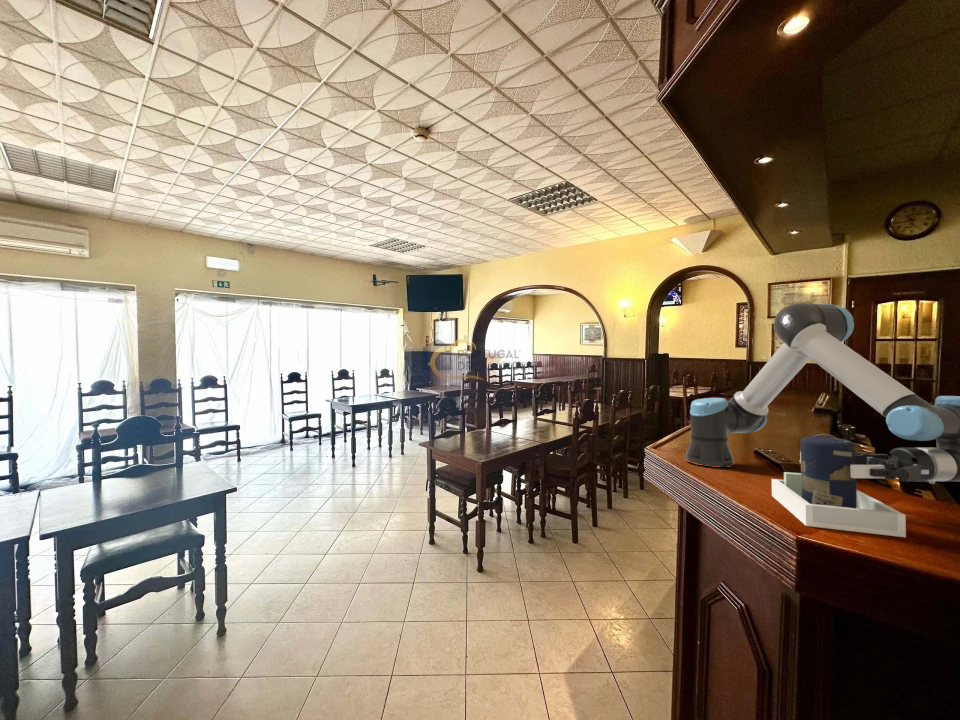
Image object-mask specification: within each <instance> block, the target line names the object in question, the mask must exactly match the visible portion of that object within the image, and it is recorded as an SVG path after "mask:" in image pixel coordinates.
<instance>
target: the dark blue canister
mask: <svg viewBox="0 0 960 720" xmlns="http://www.w3.org/2000/svg"><path fill="white" fill-rule="evenodd" d="M800 452H801V463H800V473H801V483H802V498H803V499H804V500H806V501H807V502H808V503H810V504H817V505H827V506H837V507H847V508H856V498H857V490H858V489H857V485H858V484H857V478H851V472H850V465H856V461H855V452H856V445H855V443H854V442H853V441H851V440H847V439H843V438H838V437H835V436H833V435H830V434H826V433H822V434H821V433H820V434H815V435H813V436H812V435H807V436H804V437H802V438H801V439H800Z"/></svg>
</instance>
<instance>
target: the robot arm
mask: <svg viewBox="0 0 960 720" xmlns="http://www.w3.org/2000/svg"><path fill="white" fill-rule="evenodd" d="M854 327H855V323H854V317H853V315H852V313H851V312H850V311H849V310H848V309H847V308H845V307H842V306H840V305H835V304H831V303H823V304H822V303H821V304H820V303H807V302H796V303H792V304H788V305H786V306H785V307H783V308H781V310H779V312H778V313H777V314H776V316H775V317H774V319H773V331H774V332H775V335H776V336H777V337H778V338H779V339H780V341H782V344H781V345H780V347H779V348H778V349H777V350H776V351H775V352H774V354H772V356H771V357H770V358H769V360H767V362H766V363H765V364H764V366H763V367H762V368H761V369H760V370H759V372H758V373H757V374H756V375H755V376H754V378H753V379H752V380H751V381H750V382H749V383H748V385H747V386H746V387H744V390H743V391H741V390H740V391H736V392H735V393H734V394H733V396H732V397H731V398H730V399H729V400H727V399H726V398H725V397H724V398H722V397H704V398H697V399H694V400H692V401H691V404H690V409H689V414H690V417H689V418H690V443H689V444H688V445H689V446H688V448H687V450H686V452H685V460H686V459H687V460H689V461H691V462H695V463H698V464H703V465H709V466H720V467H727V466H733V465H734V466H735V459H734V456H733V453H732V451H731V448H730V446H729V440H728V439H729V434H749V433H755V432H758V431H760V430H761V429H763V428H764V427H765V426H766V424H767V422H768V418H767V417H768V413H769V407H768V406H769V404H771V402H773V400H774V399H776V397H777V396H778V395H779V394H780V393H781V392H782V391H783V389H784V388H785V387H786V386H788V384H789V383H790V382H791V381H792V380H793V379H794V378H795V376H796V375H797V374H798V373H799V372H800V371H801V370H802V369H803V368H804V366H805V365H806V364H807V363H808V362H809V361H813V362H815V363H816V365H818V366H819V367H821V369H823V370H824V371H826V373H828V374H830V375H831V376H832V377H833V378H835V379H836V380H837V381H838V382H839V383H841V384H842V385H844V386H845V387H846V388H848V389H849V390H850V391H851V392H853V393H854V395H856V396H857V397H859V398H860V399H861V400H863V401H864V402H865V403H866V404H868V405H869V406H870V407H871V408H873V409H874V410H875V411H876V412H878V413H879V414H881V416H882V417H884V418H886V419H885V422H886V423H885V424H886V425H887V427H888V430H889V431H890V433H892V434H893V435H895V436H896V437H898V438H900V439H903V440H907V441H919V442H926V441H932V440H935V442H936V447H896V448H895V447H894V448H893V449H891V450H890V451H889V452H888V453H887V454H885V453H877V454H876V453H872V452H855V461H856V465H850V472H851V478H856V479H889V480H890V481H891V480H893V481H894V480H896V479H898V481H899V482H902V483H906V482H928V483H929V484H933V485H934V484H936V482H959V483H960V396H958V395H938V396H937V397H936V398H935V399H934V404H933V405H932V404H930V403H929V402H927V401H926V400H924V399H923V398H921V397H920V396H919V395H917V394H916V393H915V392H913V391H912V390H910V389H909V388H907V387H906V386H904V385H903V384H902V383H901V382H899V381H898V380H896V379H894V378H893V377H891V376H890V375H889V374H888V373H886V372H885V371H883V370H881V369H880V368H879V367H878V366H876V365H875V364H873V363H872V362H871V361H869V360H867V359H866V358H864V357H863V356H862V355H861V354H859V353H857V352H856V351H854V350H853V349H852V348H850V347H849V346H848V345H846V344H844V341H846V340H847V339H849V337H851V335H852V334H853V331H854ZM799 456H800V457H799V458H800V460H799V462H800V464H801V451H799Z"/></svg>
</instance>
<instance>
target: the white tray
mask: <svg viewBox="0 0 960 720" xmlns="http://www.w3.org/2000/svg"><path fill="white" fill-rule="evenodd" d="M771 497H773V499H775V501H777V502H778V503H780V505H782V506H783V507H784V508H785V509H787V511H789V512H790V513H791V514H792V515H793V516H794V517H795V518H796V519H798V520H799V521H800V522H801V523H802V524H803V525H804V526H806V527H813V528H821V529H830V530H831V529H832V530H837V531H838V530H839V531H847V532H857V533H864V534H872V535H883V536H892V537H898V538H899V537H900V538H907V529H906V528H907V526H906V524H907V523H906V522H907V521H906V514H904V513H902V512H900V511H899V510H897V509H894V508H893V507H891V506H889V505H887V504H885V503H883V502H882V501H880V500H877V499H875V498H874V497H872V496H870V495H868V494H866V493H864V492H863V491H860V490H858V489H857V498H856V508H847V507H837V506H827V505H817V504H810V503H808V502H807V501H806V500H804V499H803V498H802V497H800V496H799V495H797V494H796V493H795V492H793V491H792V490H791V489H789V488H788V487H787V486H785V485H784V479H779V478H771Z"/></svg>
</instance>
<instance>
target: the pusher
mask: <svg viewBox="0 0 960 720" xmlns="http://www.w3.org/2000/svg"><path fill="white" fill-rule="evenodd" d="M783 480H784V485H785V486H787V487H788V488H789V489H791V490H792V491H793V492H795V493H796V494H797V495H799V496H800V497H802V483H801V472H789V471H786V472H785V471H784V472H783Z"/></svg>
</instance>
